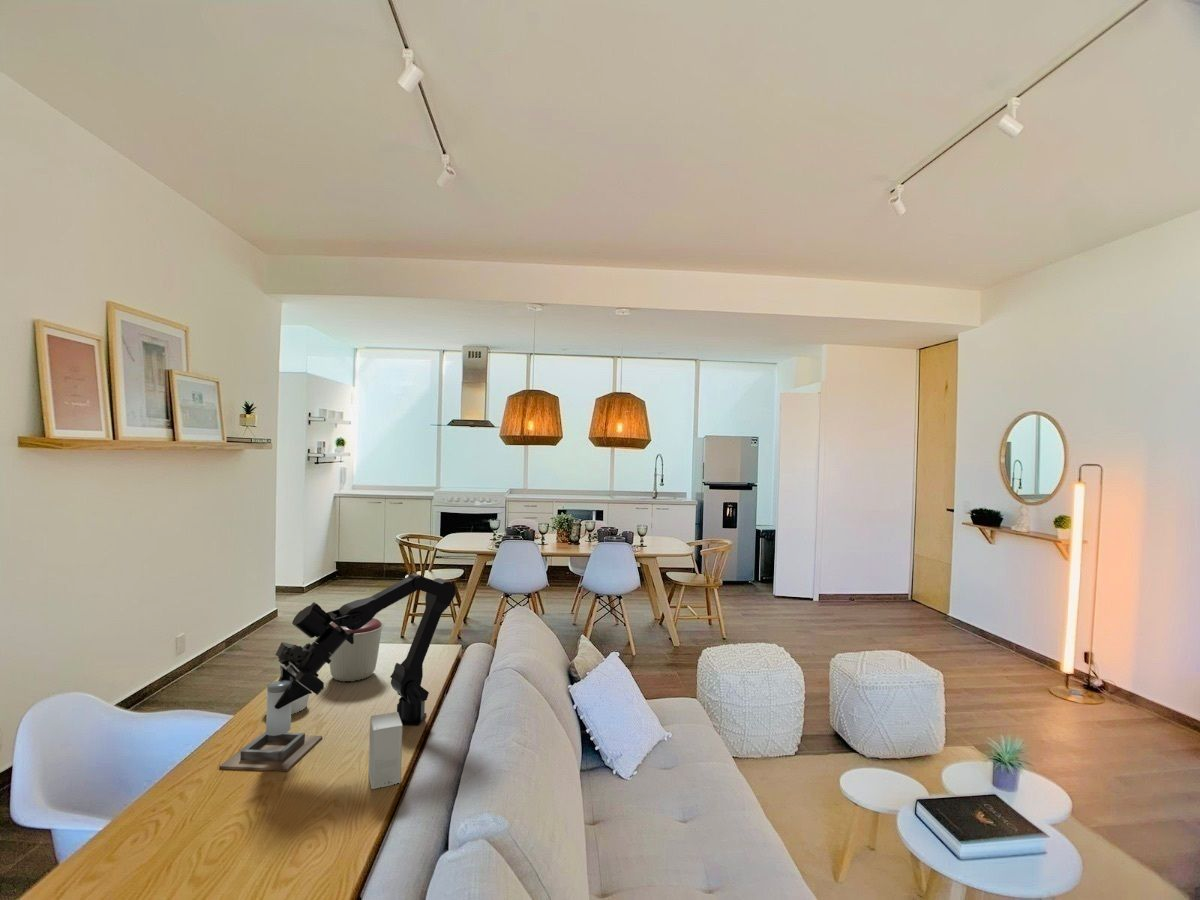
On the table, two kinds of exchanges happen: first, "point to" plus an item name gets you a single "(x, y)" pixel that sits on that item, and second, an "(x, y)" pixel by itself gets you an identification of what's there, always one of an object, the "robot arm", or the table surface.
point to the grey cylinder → (277, 718)
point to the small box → (385, 750)
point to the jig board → (272, 752)
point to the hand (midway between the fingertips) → (272, 704)
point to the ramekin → (298, 704)
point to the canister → (357, 653)
